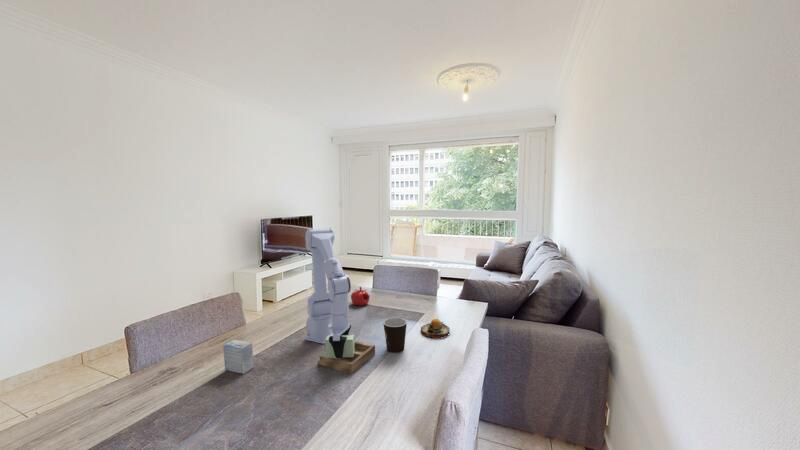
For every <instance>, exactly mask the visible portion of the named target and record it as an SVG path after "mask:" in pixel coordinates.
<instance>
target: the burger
mask: <svg viewBox="0 0 800 450" xmlns="http://www.w3.org/2000/svg"><path fill="white" fill-rule="evenodd" d="M450 330H451V329H450V327H449V326H448V325H447V324H445V323H444V322H443V321H441V320H440V319H439V318H433V319H432V320H431V322H430V323H426V324H424V325H422V326H421V327H420V333H421V334H422V335H423V336H424V337H427V338H428V337H429V338H430V337H431V338H432V339H442V338H441V337H444V336H447V335H448V334H449V332H451V331H450ZM449 335H450V334H449ZM449 335H448V336H449ZM448 336H447V337H448ZM444 338H445V337H444Z"/></svg>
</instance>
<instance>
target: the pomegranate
mask: <svg viewBox="0 0 800 450" xmlns="http://www.w3.org/2000/svg"><path fill="white" fill-rule="evenodd" d="M350 300H351V303H352V304H353V305H355V306H358V307H359V306H366V305H368V303H369V301H370V294H369V293H368V289H363V288H362V286H359V289H357V288H355V289H354V290H353V292H352V293H351V296H350Z"/></svg>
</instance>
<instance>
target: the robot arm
mask: <svg viewBox="0 0 800 450" xmlns="http://www.w3.org/2000/svg"><path fill="white" fill-rule="evenodd" d="M304 238H305V248H306V250H307V251H310V253H311V259H312V260H311V261H312V273H313V274H312V275H313V288H314V289H313V290H314V291H313V293H312V294H311V295H310V296H308V298H307V306H306V307H307V314H308V317H307V319H306V322H305V325H306V330H305V331H306V337H305V340H306V341H311V342H315V343H319V344H321V345H325V340H326V338H327V336H328V335H333V336H330V337H329V342H330V344H331V345H332V347H333V350H334V354H335V357H336V358H342V357H343V351H344V344H345V341H346V339H347V337H342V336H341V335H350V334H349V333H350V330H351V328H352V325H351V324H350V317H349V313H350V312H349V309H350V308H349V293H351V289H352V283H351V279H350V276H349V275H347V273H346V272H344V269H343V267H342V264H341V261H340V260H339V259H338V258H336V257H335V252H334V247H333V245H334V242H335V232H334V229H332V228H331V227H329V228H313V229H311V228H308V229H307V230H306V232H305V236H304Z"/></svg>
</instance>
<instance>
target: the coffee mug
mask: <svg viewBox="0 0 800 450" xmlns="http://www.w3.org/2000/svg"><path fill="white" fill-rule="evenodd" d="M407 321H408V320H406V319H405V318H401V317H390V318H386V319H384V320H383V332H384V338H385V344H386V350H387V352H390V353H393V354H394V353H395V354H396V353H401V352H403V351H404V349H405V344H406V334H407V325H408V323H407Z"/></svg>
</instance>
